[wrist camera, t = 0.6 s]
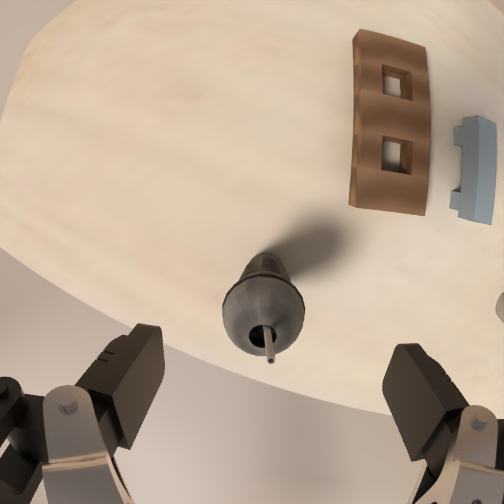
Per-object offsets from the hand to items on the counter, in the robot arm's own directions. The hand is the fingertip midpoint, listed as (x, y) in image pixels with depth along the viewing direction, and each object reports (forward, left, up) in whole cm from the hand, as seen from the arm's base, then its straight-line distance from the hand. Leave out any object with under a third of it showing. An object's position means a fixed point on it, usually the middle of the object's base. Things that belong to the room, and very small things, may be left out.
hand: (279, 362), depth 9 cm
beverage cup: (+6, 0, -27) cm, 27 cm away
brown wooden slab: (-14, +14, -27) cm, 33 cm away
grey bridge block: (-10, +26, -27) cm, 38 cm away
